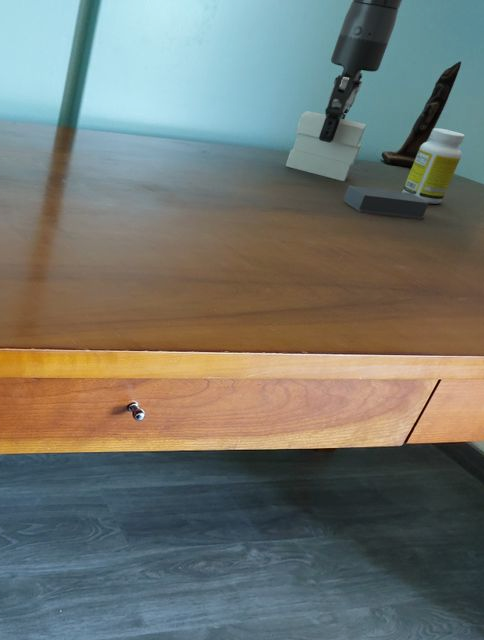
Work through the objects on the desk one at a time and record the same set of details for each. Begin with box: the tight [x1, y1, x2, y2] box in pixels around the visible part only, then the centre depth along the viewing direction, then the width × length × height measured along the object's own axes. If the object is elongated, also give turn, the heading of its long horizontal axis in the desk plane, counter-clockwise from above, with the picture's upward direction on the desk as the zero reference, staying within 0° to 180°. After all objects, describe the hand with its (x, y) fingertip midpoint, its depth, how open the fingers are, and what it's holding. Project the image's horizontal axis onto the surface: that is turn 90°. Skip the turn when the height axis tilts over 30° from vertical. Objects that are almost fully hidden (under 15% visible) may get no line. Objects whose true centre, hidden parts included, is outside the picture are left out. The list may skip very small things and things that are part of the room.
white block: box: [295, 110, 367, 147], centre depth 124 cm, size 10×6×3 cm, turn 61°
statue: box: [381, 60, 462, 168], centre depth 140 cm, size 4×7×20 cm, turn 85°
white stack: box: [285, 132, 363, 182], centre depth 126 cm, size 10×4×6 cm, turn 61°
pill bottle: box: [401, 127, 465, 205], centre depth 119 cm, size 6×6×11 cm
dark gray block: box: [343, 185, 429, 220], centre depth 104 cm, size 10×4×4 cm, turn 96°
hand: (328, 137), depth 124 cm, fingers open, 8 cm apart
